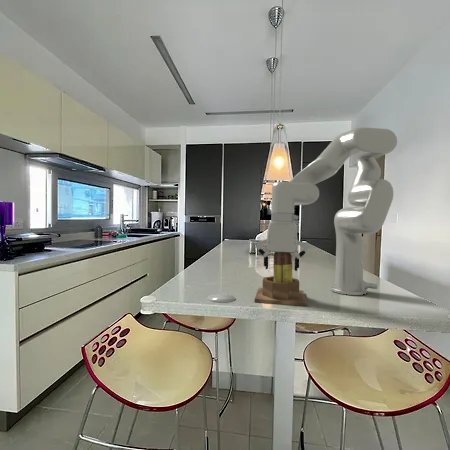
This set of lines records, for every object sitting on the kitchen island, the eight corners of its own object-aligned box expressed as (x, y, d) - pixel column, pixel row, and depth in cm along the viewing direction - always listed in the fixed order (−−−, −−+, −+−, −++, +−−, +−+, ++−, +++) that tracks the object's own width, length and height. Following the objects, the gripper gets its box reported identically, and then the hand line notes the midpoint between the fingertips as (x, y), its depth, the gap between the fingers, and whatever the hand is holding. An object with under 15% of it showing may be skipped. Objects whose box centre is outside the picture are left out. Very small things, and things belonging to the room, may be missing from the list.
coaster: (236, 297, 97) (236, 294, 97) (232, 304, 88) (232, 302, 88) (211, 295, 99) (211, 293, 99) (204, 302, 90) (204, 300, 90)
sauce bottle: (293, 293, 99) (294, 235, 98) (291, 297, 93) (292, 236, 92) (274, 291, 101) (275, 235, 100) (271, 295, 95) (272, 235, 94)
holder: (303, 293, 103) (303, 276, 103) (306, 306, 87) (307, 286, 87) (258, 290, 106) (259, 274, 106) (254, 302, 90) (254, 283, 90)
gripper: (308, 219, 98) (306, 269, 98) (257, 218, 102) (256, 266, 102) (310, 219, 91) (308, 272, 91) (255, 218, 94) (254, 269, 95)
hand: (281, 269), depth 96 cm, fingers open, 9 cm apart
